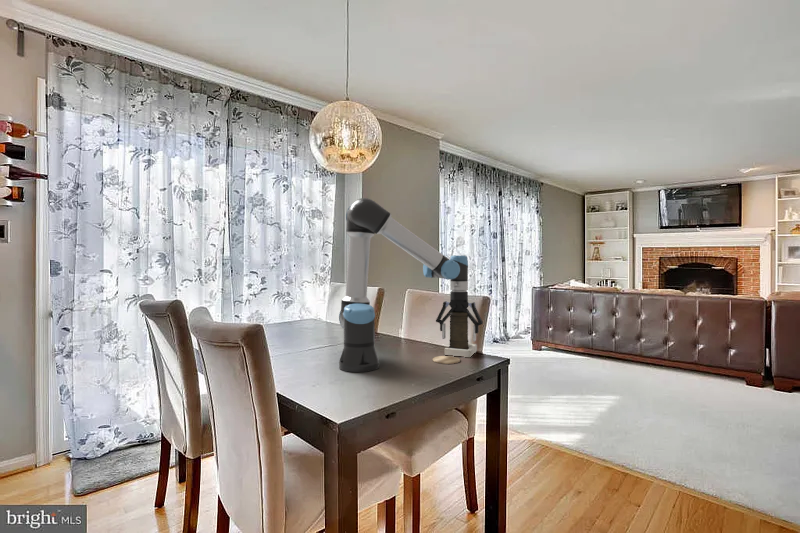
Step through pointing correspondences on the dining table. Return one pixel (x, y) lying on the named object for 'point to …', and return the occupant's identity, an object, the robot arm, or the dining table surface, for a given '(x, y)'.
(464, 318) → the container
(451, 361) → the disc
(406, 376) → the dining table surface
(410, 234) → the robot arm
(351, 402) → the dining table surface
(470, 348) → the cradle
